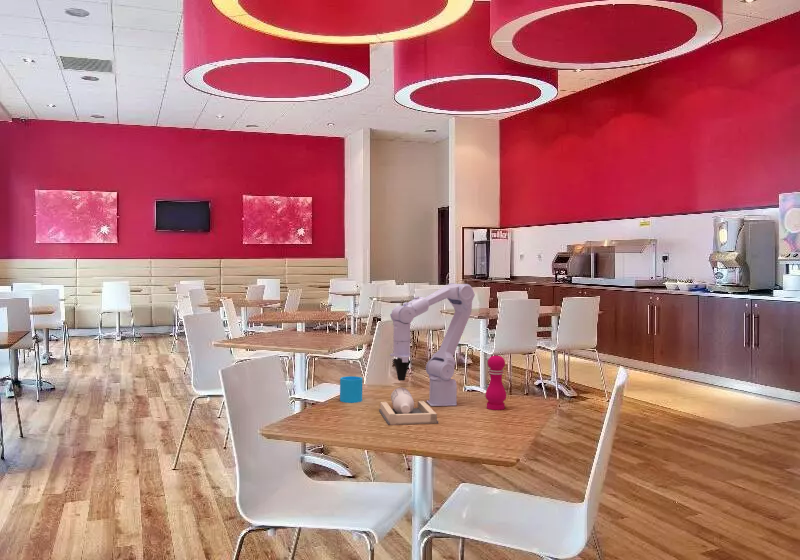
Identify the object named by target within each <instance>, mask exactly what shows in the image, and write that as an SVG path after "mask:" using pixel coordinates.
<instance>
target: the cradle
mask: <svg viewBox="0 0 800 560" xmlns="http://www.w3.org/2000/svg"><path fill="white" fill-rule="evenodd" d="M378 412H379V413H380V415H381V417H382V418H383V419H384V421H385V422H386V424H387V425H388V426H396V425H397V426H400V425H402V426H403V425H405V426H406V425H430V424H434V425H436V424H439V420H438V413H437V412H436V411H435V410H433V408H432V407H431V406H430V405H429V404H428V403H427V402H425V401H424V400H418V401H417V407H414V408H413V410H412V411H411V412H410V413H409V414H398V413H397V412H396V411H395V410H394V408H391V406H390V405H389V403H388V402H387V401H380V407H379V408H378Z"/></svg>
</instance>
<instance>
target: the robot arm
mask: <svg viewBox="0 0 800 560" xmlns="http://www.w3.org/2000/svg"><path fill="white" fill-rule="evenodd" d="M474 297H475V292H474V289H473V287H472V286H471V285H470V284H469V283H455V282H450V283H447V284H445V285H442V287H440V288H439V289H437V290H435V291H434V292H431V294H428V295H427V296H425V297H423V296H417V295H416V296H414V297H413V299H412V300H410V301H408V302H403V304H402V305H397V306H395V307H393V309H392V310H391V313H390V315H389V316H390V318H391V320H392V325H393V352H391V353H389V356H390V357H395V358H397V359H392V362H393V364H394V366H395V370H396V376H397V380H398V381H401V382H403V381H406V376H407V371H408V368H409V367H410V364H411V360H410V357H411V323H412V322H413V320H414V319H415V318H416V317H418V316H420V315H422V314H424V313H426V312H427V311H429V307H430V306H432V305H435V304H437V303H440V302H441V301H444V300H447V301H448V302H449V303H450V305H451V306H452V307H453V309H454V313H453V315H452V319H451V320H450V323H449V325H448V328H447V330H446V333H445V335H444V337H443V341H442V342H441V344H440V346H439V349H438V351H436V352H434V353H433V354H432V357H431V358H430V359H429V360H428V361H427V363H426V365H425V372H426V373H427V375H428V378H429V393H428V394H429V396H428V397H429V399H427V400H426V402H425V403H426V404H427V405H428V406H429V407H446V406H447V407H449V406H454V407H455V406H458V404H457V397H458V396H457V394H458V393H457V389H458V386H457V385H458V384H457V381H456V379H455V378H452V377H453V376H454V374H455V365H456V363H457V362H456V360H455V358H454V355H455V353H456V351H457V347H458V346H459V343H460V340H461V338H462V335H463V333H464V331H465V328H466V326H467V324H468V322H469V318H470V316H471V314H472V308H473V306H472V305H473V300H474Z"/></svg>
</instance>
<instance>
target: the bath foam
mask: <svg viewBox="0 0 800 560" xmlns="http://www.w3.org/2000/svg"><path fill="white" fill-rule="evenodd" d="M390 401H391V404H392V407H393V409H394V410H395V411H396V412H397V413H398V414H409V413H410V412H411V411H412V410H413V408H415V401H414V398H413V396H412V394H411V392H410V391H409V390H408V389H407V388H406V387H403V386H400V387H397V388H394V390H392V392H391V395H390Z"/></svg>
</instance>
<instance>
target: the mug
mask: <svg viewBox="0 0 800 560" xmlns="http://www.w3.org/2000/svg"><path fill="white" fill-rule="evenodd" d="M339 380H340V381H339V401H340V402H341V403H348V404H353V403H361V402H362V401H363V377H361V376H349V375H348V376H341V377H340V378H339Z"/></svg>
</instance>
